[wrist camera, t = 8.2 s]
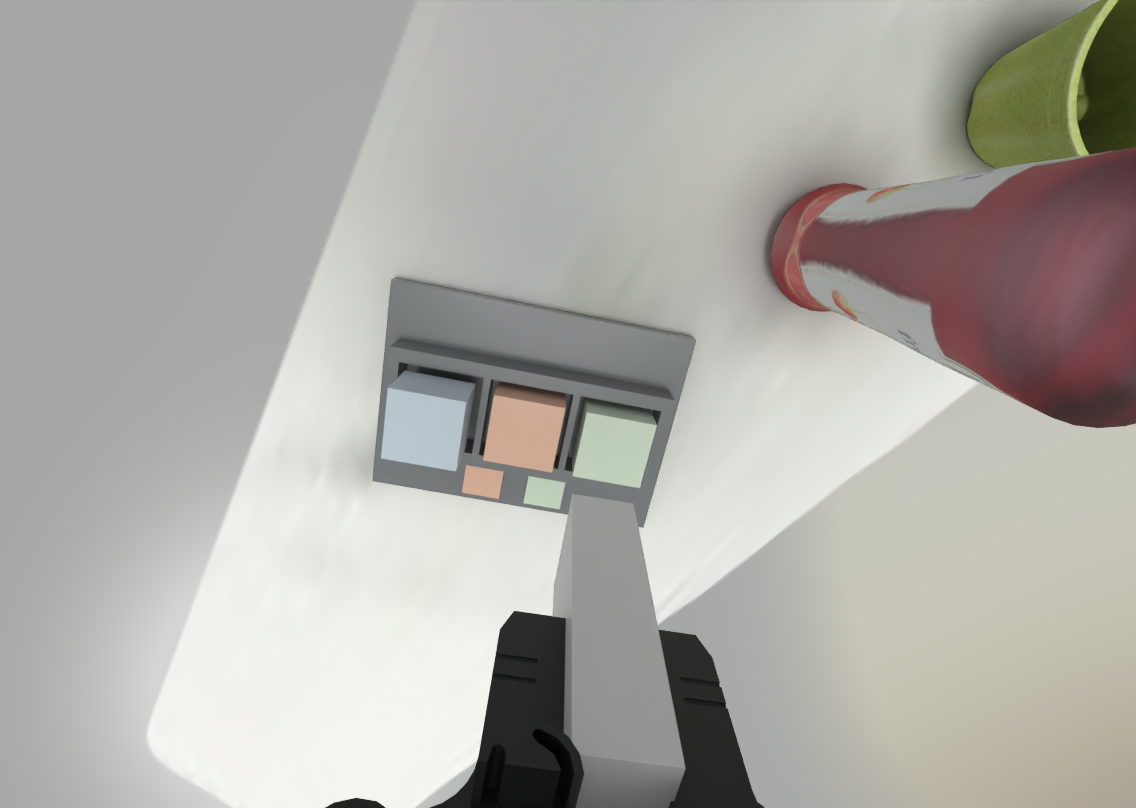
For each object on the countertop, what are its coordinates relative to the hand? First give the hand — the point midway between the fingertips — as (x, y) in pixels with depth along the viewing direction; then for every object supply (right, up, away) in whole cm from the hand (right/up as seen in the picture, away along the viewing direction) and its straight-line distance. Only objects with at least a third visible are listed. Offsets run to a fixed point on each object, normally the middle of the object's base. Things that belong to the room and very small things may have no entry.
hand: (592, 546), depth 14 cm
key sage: (+2, +2, +21) cm, 21 cm away
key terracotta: (-3, +3, +20) cm, 21 cm away
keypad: (-3, +3, +21) cm, 22 cm away
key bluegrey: (-8, +3, +18) cm, 20 cm away
